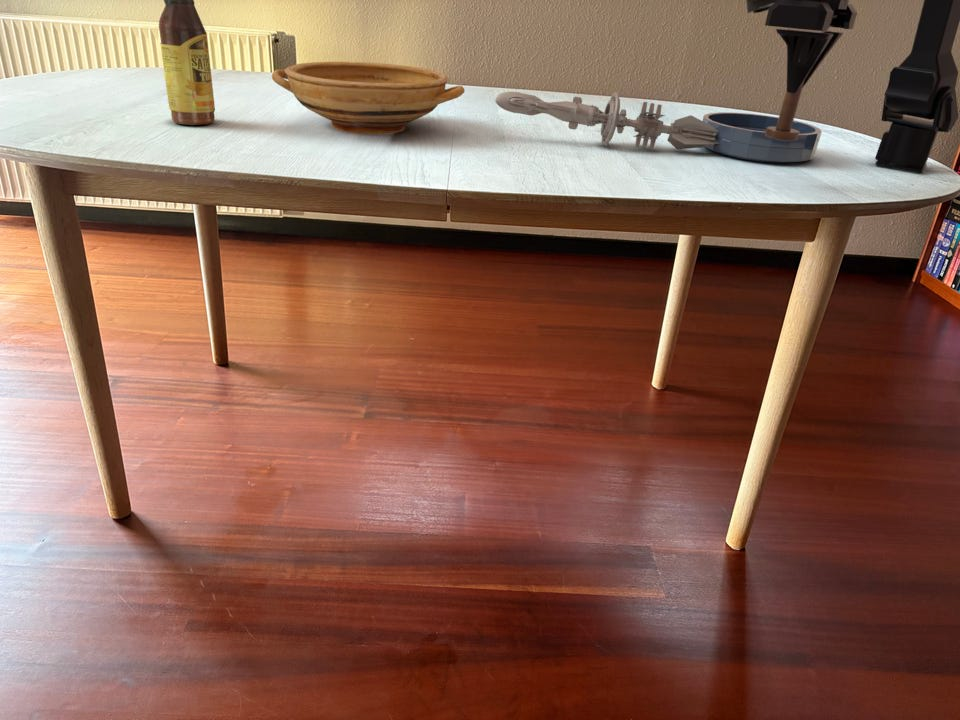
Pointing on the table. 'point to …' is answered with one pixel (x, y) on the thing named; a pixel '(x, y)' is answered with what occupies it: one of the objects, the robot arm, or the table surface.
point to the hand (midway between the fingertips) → (793, 92)
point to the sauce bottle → (186, 64)
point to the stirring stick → (786, 118)
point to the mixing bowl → (760, 138)
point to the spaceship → (615, 120)
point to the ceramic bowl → (366, 93)
